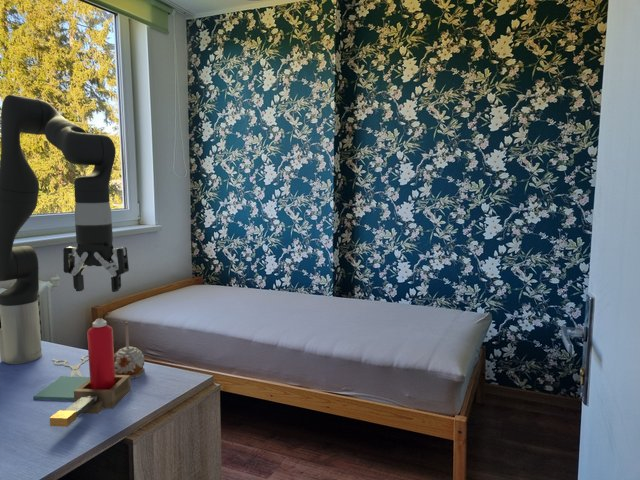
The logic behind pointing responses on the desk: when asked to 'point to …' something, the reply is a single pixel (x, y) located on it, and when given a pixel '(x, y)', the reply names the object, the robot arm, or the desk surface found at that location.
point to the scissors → (74, 368)
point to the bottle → (101, 355)
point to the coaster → (61, 389)
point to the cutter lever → (72, 411)
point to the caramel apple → (129, 359)
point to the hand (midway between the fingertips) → (97, 291)
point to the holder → (104, 394)
